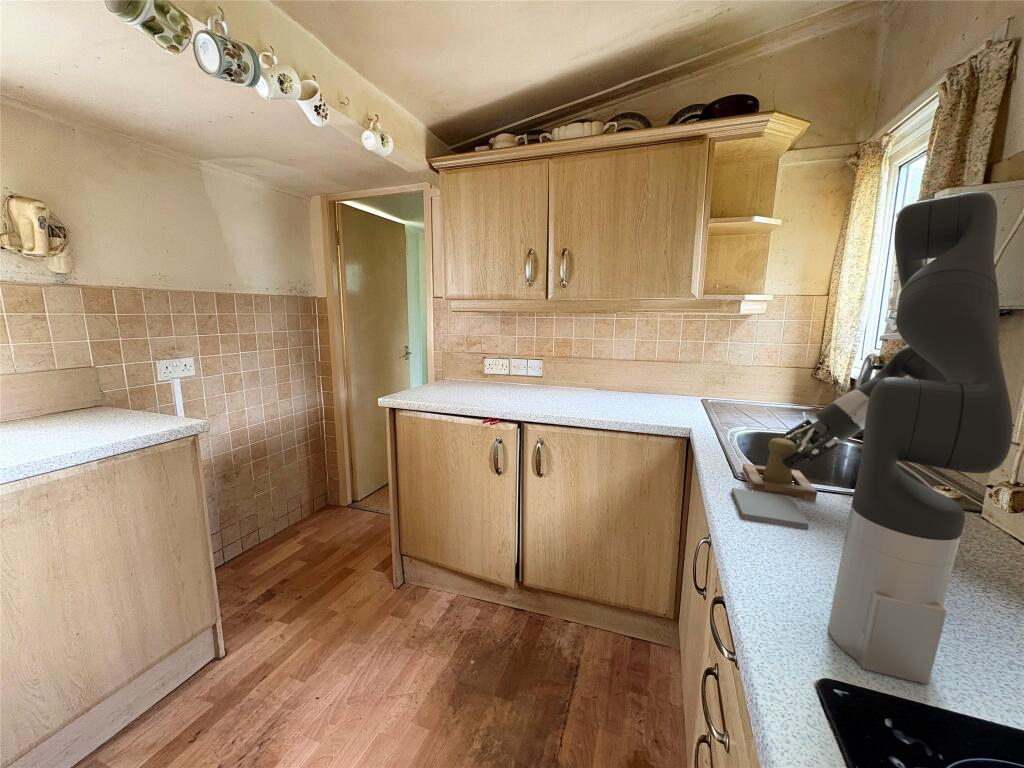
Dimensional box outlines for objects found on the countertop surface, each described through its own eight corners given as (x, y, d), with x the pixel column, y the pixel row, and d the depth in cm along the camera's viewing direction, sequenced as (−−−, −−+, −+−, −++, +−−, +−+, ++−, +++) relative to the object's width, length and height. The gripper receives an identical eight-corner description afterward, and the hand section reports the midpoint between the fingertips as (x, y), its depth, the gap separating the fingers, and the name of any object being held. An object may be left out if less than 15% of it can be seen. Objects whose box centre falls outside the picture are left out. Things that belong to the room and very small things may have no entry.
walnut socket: (815, 500, 88) (817, 491, 88) (752, 491, 92) (753, 483, 92) (797, 478, 100) (799, 470, 99) (742, 471, 103) (743, 463, 103)
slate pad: (808, 528, 77) (808, 523, 77) (742, 518, 81) (742, 513, 80) (788, 500, 88) (789, 495, 88) (731, 492, 92) (732, 487, 92)
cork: (763, 477, 100) (769, 433, 98) (793, 484, 96) (800, 439, 94) (758, 485, 95) (765, 440, 93) (790, 493, 92) (797, 446, 89)
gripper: (823, 395, 96) (760, 436, 102) (849, 409, 82) (775, 456, 88) (846, 419, 95) (782, 459, 101) (877, 438, 82) (801, 483, 88)
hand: (779, 458), depth 95 cm, fingers open, 8 cm apart
